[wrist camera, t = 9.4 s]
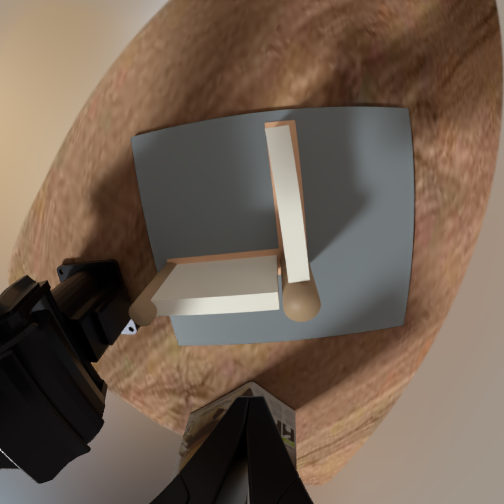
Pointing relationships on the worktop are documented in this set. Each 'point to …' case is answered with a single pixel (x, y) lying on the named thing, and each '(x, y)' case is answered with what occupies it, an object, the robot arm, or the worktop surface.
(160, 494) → the robot arm
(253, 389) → the coffee box
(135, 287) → the worktop surface
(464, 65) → the worktop surface
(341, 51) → the worktop surface
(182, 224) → the card
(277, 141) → the fence gate panel
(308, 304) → the fence post and panel
